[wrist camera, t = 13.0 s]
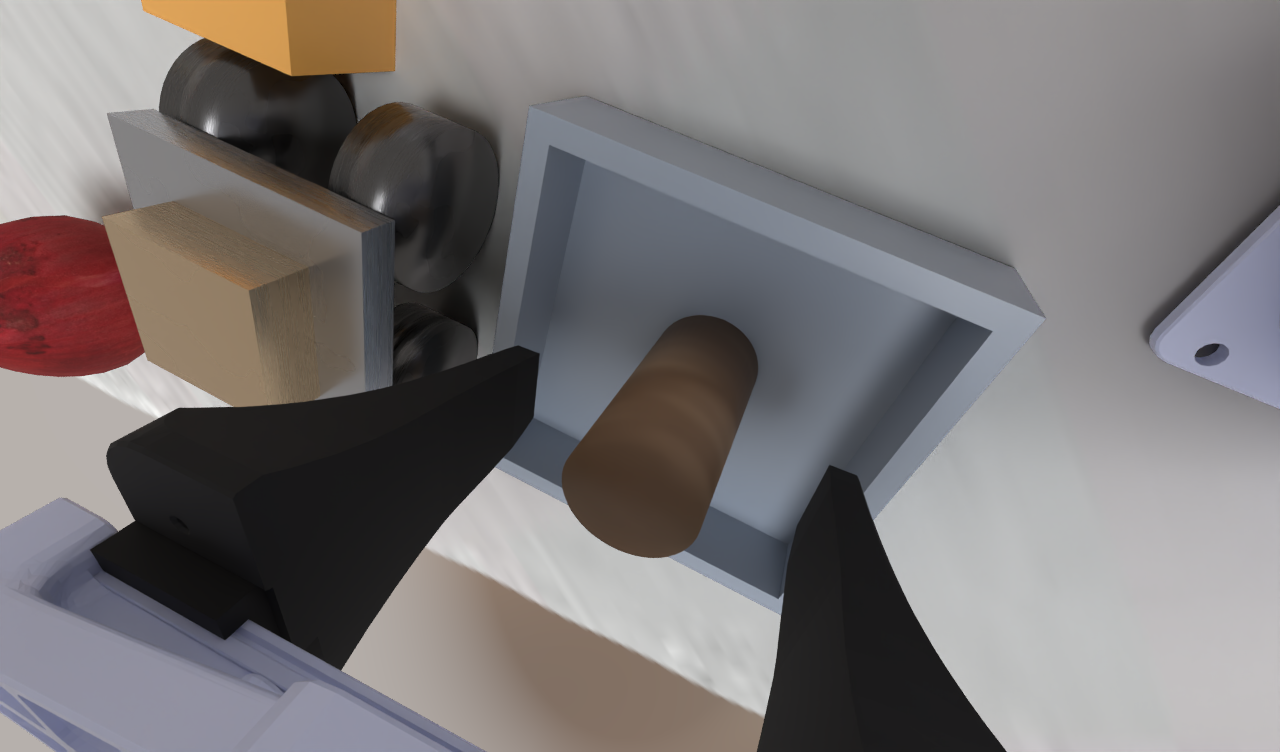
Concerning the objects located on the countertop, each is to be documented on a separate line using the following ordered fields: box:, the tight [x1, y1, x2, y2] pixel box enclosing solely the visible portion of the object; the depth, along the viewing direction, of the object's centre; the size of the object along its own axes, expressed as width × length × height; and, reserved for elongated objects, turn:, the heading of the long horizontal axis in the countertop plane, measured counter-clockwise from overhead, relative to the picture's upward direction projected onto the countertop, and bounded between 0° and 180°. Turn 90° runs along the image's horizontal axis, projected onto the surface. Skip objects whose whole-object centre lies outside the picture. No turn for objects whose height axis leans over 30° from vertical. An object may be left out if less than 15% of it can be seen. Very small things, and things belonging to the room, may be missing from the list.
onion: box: [0, 215, 145, 377], centre depth 20 cm, size 6×6×8 cm
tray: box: [492, 96, 1046, 615], centre depth 15 cm, size 11×11×3 cm
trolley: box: [102, 38, 498, 407], centre depth 16 cm, size 7×10×7 cm
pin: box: [562, 315, 758, 558], centre depth 13 cm, size 3×3×6 cm
